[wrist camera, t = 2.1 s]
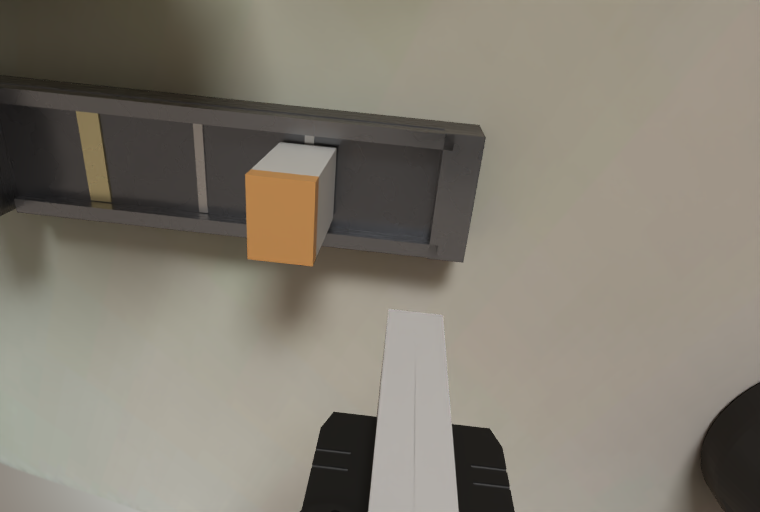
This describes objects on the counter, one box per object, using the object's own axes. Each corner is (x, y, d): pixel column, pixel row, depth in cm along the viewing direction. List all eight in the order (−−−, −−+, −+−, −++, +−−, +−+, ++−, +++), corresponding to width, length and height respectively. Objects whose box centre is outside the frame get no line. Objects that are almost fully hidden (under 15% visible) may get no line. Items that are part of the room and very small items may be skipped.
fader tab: (333, 218, 29) (312, 266, 23) (280, 212, 29) (247, 259, 23) (336, 147, 27) (315, 182, 21) (280, 141, 27) (245, 174, 21)
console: (459, 240, 31) (467, 288, 26) (12, 191, 32) (-71, 228, 26) (479, 125, 28) (493, 152, 23) (-16, 73, 29) (-117, 88, 23)
